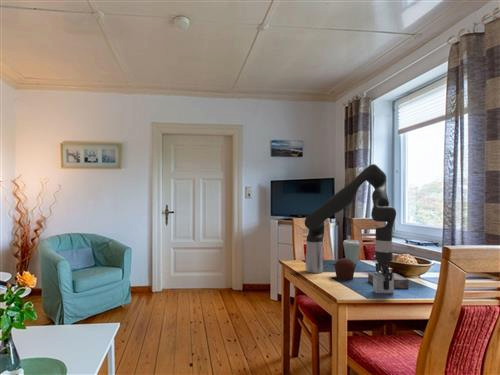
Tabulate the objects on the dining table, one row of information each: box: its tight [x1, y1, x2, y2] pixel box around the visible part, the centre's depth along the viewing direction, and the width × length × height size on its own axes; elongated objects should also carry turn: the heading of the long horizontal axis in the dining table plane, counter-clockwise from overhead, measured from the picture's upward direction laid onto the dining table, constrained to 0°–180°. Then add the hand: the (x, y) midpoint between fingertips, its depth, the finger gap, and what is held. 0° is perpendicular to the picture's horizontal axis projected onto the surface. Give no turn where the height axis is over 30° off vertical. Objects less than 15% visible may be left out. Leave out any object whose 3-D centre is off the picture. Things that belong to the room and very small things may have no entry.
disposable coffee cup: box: [342, 239, 360, 265], centre depth 223 cm, size 11×11×15 cm
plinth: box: [367, 272, 409, 289], centre depth 171 cm, size 14×14×4 cm
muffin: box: [333, 257, 357, 281], centre depth 184 cm, size 12×11×10 cm
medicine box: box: [372, 271, 395, 294], centre depth 156 cm, size 8×4×9 cm, turn 92°
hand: (383, 288), depth 156 cm, fingers closed on medicine box, 4 cm apart
